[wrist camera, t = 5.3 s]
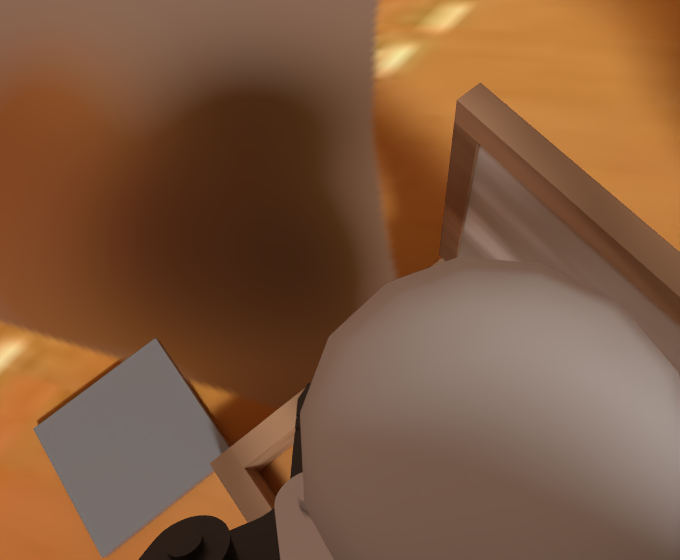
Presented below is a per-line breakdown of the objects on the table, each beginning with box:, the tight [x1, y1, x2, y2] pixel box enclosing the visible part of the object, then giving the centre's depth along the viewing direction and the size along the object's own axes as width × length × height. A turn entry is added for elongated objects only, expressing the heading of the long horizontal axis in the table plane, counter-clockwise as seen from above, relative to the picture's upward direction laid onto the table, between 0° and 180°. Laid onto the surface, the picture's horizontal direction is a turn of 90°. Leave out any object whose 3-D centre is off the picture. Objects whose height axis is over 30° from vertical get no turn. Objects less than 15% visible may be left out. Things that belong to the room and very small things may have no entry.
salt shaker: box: [300, 257, 680, 560], centre depth 12 cm, size 6×6×13 cm
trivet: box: [34, 338, 230, 558], centre depth 31 cm, size 8×8×1 cm
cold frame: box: [210, 83, 680, 523], centre depth 21 cm, size 15×15×17 cm
